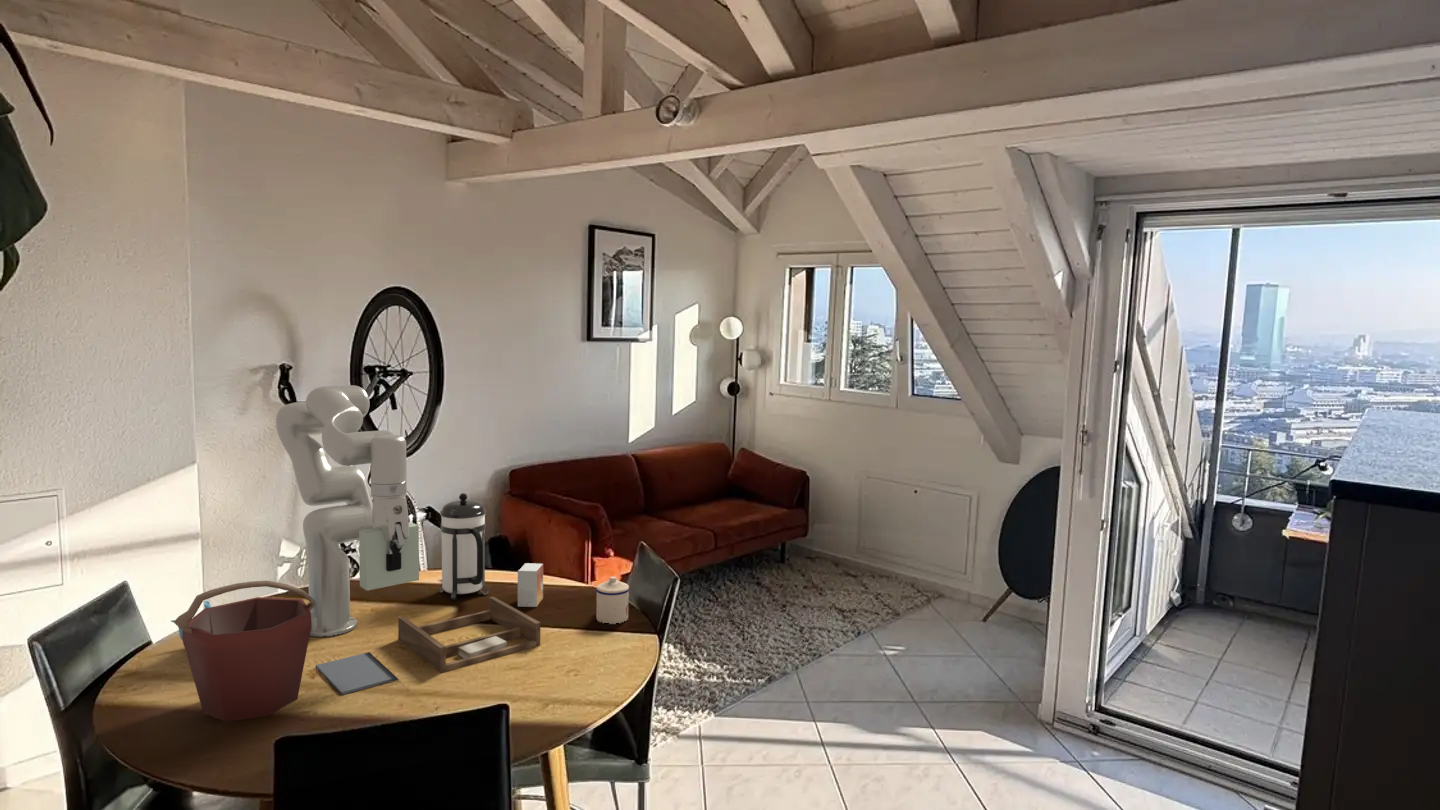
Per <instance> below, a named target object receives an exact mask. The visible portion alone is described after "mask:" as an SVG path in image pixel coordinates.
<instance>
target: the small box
mask: <svg viewBox="0 0 1440 810" xmlns="http://www.w3.org/2000/svg"><path fill="white" fill-rule="evenodd" d="M543 599H544V563H536V562H534V563H533V562H532V563H529V562H527V563H526V562H525V563H524V564H523V565H522V566H521V568H520V569H518V570H517V607H518V608H519V607H522V608H526V607H527V608H537V607H538V606H539V604H540V603H541V602H542V600H543Z"/></svg>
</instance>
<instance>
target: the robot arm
mask: <svg viewBox="0 0 1440 810" xmlns="http://www.w3.org/2000/svg"><path fill="white" fill-rule="evenodd" d="M370 405H371V404H370V398H369V394H368V393H367V391H366V390H365V389H364V388H363V387H360V386H358V385H352V384H351V385H326V386H318V387H316V388H314V389H312V390H311V391H310V392H309V393H308V394H307V396H306V399H305V401H297V402H291V403H287V404H285V405H283V406H281V407H280V408H279V409H278V411H277V414H276V417H275V422H276V424H275V426H276V427H275V428H276V432H277V435H278V438H279V440H280V442H281V443H282V446H283V448H284V449H285V451H286V453H287V454H288V456H289V459H290V460H291V463H292V467H293V471H294V472H293V473H294V475H295V479H296V482H297V487H298V491H299V493H300V494H299V495H300V496H301V499H302V501H303V503H304V504H306V505H307V506H312V507H313V506H315V507H316V506H317V507H318V506H325V505H333V504H341V503H346V504H344V505H336V506H328V507H323V508H322V507H321V508H318V509H315V510H312V511H311V512H308V513H307V514H306V515H305V517H304V519H303V520H302V529H303V530H302V531H303V535H304V541H305V545H306V546H305V547H306V553H307V574H308V575H307V579H308V580H307V581H308V594H309V595H310V596H311V597H312V598H313V599H314V600H315V602H316V604H315V607H313V608H312V609H311V610H310V612H311V631H310V636H309V637H315V638H318V637H319V638H323V636H327V637H333V635H334V636H338V634H339V635H342V633H343V634H346V633H348V631H349V632H351V631H352V630H354V629H355V628H356V627H357V625H358V624H357V623H358V620H357V619H356V618H355V617H354V616H351V599H350V598H351V589H350V586H351V585H350V584H351V583H350V582H351V581H350V560H349V556H348V555H347V554H346V552H344V550H343V549H342V548H341V547H340V546H339V545H340V544H343V543H344V544H345V543H349V542H353V541H359V530H364V529H370V528H377V529H379V530H381V531H383V536H384V540H386V541H387V548H388V554H386V570H387V571H394V570H399V569H401V552H402V546H403V545H404V544H405V542H404V539H407V538H408V537H409V523H410V522H409V511H408V510H409V509H408V502H407V497H406V496H407V486H408V485H407V440H406V438H405V437H404V436H402V435H399V434H395V433H393V432H392V431H390V430H384V429H383V430H371V431H369V430H367V431H365V430H364V431H359V430H360V429H361V427H362V426H363V423H364V418H365V417H366V415H367V414H368V412H369V409H370ZM311 434H321V443H322V444H320V443H319V441H317V440H316V439H314V438H312V436H310V435H311ZM329 458H330V459H332V460H333V462H335V463H337V464H339V465H341V466H333V465H332V464H331V462H330V459H329ZM368 464H370V488H369V484H368V481H367V479H366V476H365V474H364V473H363V471H362V470H361V469H360V467H357V466H360V465H368ZM392 537H396V539H393V540H392ZM394 542H396V543H395V544H393V546H392V544H391V543H394ZM309 602H310V601H309V600H308V603H309ZM350 630H351V631H350ZM345 632H346V633H345Z"/></svg>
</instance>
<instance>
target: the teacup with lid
mask: <svg viewBox="0 0 1440 810" xmlns="http://www.w3.org/2000/svg"><path fill="white" fill-rule="evenodd" d="M630 590H631V589H630V586H629V584H627V583H625V582H623V581H620V580H618V579H617V577H616V576H610V577H608V580H606V581H605V582H601V583H599V584H597V586H596V588H595V591H596V620H597V622H598V623H601V622H602V623H601V624H604V623H609V624H608V625H617V624H616V623H619V624H622V622H623V623H625V622H626V621H627V620H629V599H630V597H629V596H630V594H629V591H630ZM624 621H625V622H624Z"/></svg>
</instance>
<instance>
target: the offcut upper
mask: <svg viewBox="0 0 1440 810" xmlns="http://www.w3.org/2000/svg"><path fill="white" fill-rule="evenodd" d="M506 647H508V641H505V640H503V639H501V638H499V637H497V636H494V637H491V638H487V639H484V640H481V641H478V642H474V643H471V644H468V645H465V646H461V647H458V649H459V654H458V656H459V657H460V658H461V659H465V658H469V657H472V656H476V655H480V654H483V653H487V652H491V651H495V650H498V649H502V648H506Z"/></svg>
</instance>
